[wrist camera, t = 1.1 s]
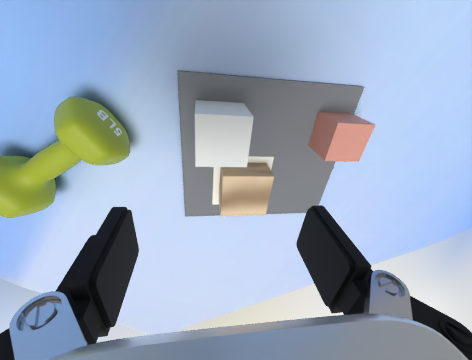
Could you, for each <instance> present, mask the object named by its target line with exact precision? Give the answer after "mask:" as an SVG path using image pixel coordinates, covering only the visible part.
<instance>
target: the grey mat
mask: <svg viewBox="0 0 472 360" xmlns="http://www.w3.org/2000/svg"><path fill="white" fill-rule="evenodd" d="M177 72H178V91H179V110H180V129H181V147H182V166H183V185H184V204H185V216H214V215H220V208H219V183H220V167H195V103H196V100H203V101H219V102H235V103H244V104H245V105H246V107H247V108H248V110H249V111H250V112H251V114H252V115H253V116H254V118H253V126H252V133H251V141H250V148H249V155H248V162H251V163H267V165H268V166H269V168H270V170H271V172H272V173H273V175H274V180H273V184H272V189H271V193H270V198H269V202H268V207H267V211H266V214H281V213H307V210H308V209H309V208H310V207H311V206H318V205H319V202H320V200H321V197H322V194H323V192H324V189H325V187H326V184H327V182H328V179H329V176H330V174H331V171H332V169H333V166H334V164H335V161H324V160H323V159H322V158H321V157H320V156H319V155H318V154H317V153H316V152H315V151H314V150H313V149H312V148H310V147H309V146H308V144H309V141H310V138H311V134H312V131H313V127H314V124H315V121H316V117H317V114H318V112H335V113H351V114H353V115H354V112H355V110H356V107H357V104H358V102H359V99H360V97H361V94H362V92H363V89H364V87H362V86H351V85H339V84H327V83H316V82H304V81H292V80H280V79H268V78H256V77H245V76H233V75H221V74H209V73H197V72H186V71H177Z"/></svg>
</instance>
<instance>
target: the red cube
mask: <svg viewBox="0 0 472 360" xmlns="http://www.w3.org/2000/svg"><path fill="white" fill-rule="evenodd" d="M374 127H375V124H373V123H370V122H368V121H366V120H364V119H362V118H360V117H357V116H355V115H353V114H351V113H335V112H318V114H317V117H316V121H315V124H314V127H313V131H312V134H311V138H310V141H309V144H308V146H309V147H310V148H312V149H313V150H314V151H315V152H316V153H317V154H318V155H319V156H320V157H321V158H322V159H323V160H324V161H359V160H360V158H361V155H362V153H363V151H364V149H365V147H366V144H367V142H368V140H369V138H370V136H371V133H372V131H373V129H374Z"/></svg>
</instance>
